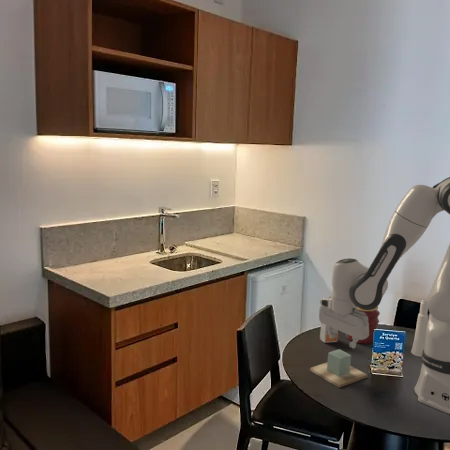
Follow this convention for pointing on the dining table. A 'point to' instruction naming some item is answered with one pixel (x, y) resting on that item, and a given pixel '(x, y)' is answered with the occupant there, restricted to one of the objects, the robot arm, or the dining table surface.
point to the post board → (334, 379)
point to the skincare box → (327, 334)
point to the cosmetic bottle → (420, 330)
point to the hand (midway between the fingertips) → (342, 342)
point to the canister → (372, 322)
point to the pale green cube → (339, 362)
